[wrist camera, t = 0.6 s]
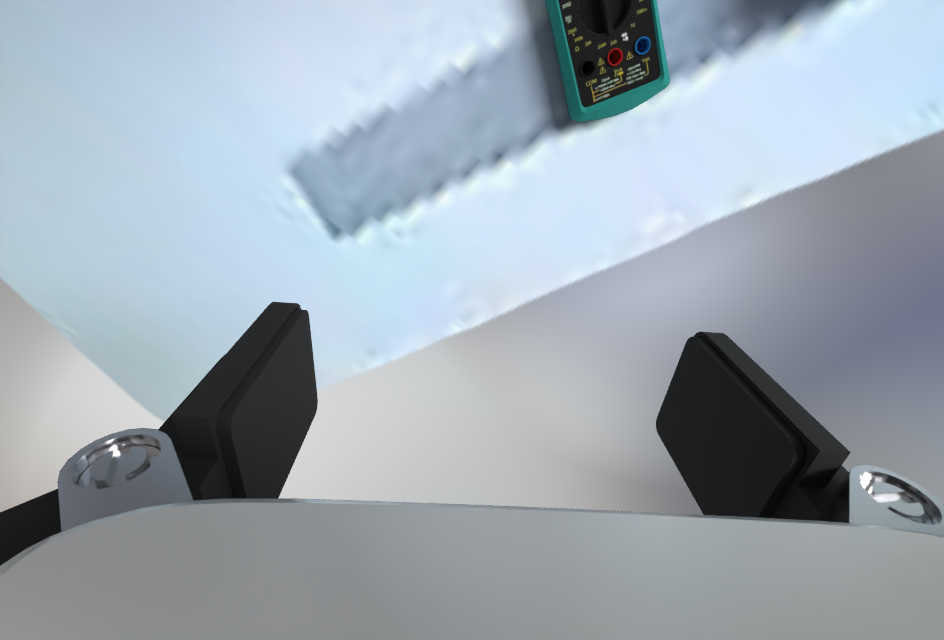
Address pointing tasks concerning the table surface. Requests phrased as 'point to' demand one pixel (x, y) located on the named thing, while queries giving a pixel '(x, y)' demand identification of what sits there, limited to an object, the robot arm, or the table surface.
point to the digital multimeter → (608, 54)
